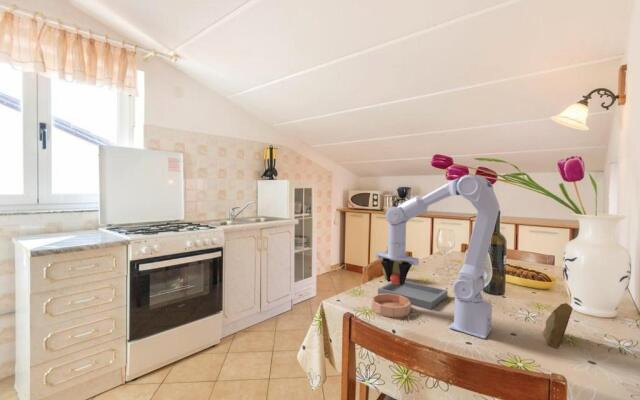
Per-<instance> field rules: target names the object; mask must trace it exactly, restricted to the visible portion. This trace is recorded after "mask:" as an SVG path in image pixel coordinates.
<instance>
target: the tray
mask: <svg viewBox="0 0 640 400" xmlns="http://www.w3.org/2000/svg"><path fill="white" fill-rule="evenodd" d="M387 293H389V294H396V295H401V296H403V297H405V298H408V299H409V301H410V303H411V306H412V305H413V306H415V307H419V308H422V309H427V310H430V311H431V310H433V309H434V308H435V307H437V306H438V305H439V304H440V303H441V302H443V301H444V300H445V299H447V298H448V295H449V294H448V290H447V289H443V288H439V287H435V286H429V285H426V284H422V283H421V284H420V283H416V282H412V281H407V280H405V284H403V285H400V284H398V285H395V284H393V283H392V282H391V281H390V282H389V283H388V284H385V285H383V286H381V287H378V288H377V294H387Z"/></svg>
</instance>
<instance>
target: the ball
mask: <svg viewBox="0 0 640 400" xmlns="http://www.w3.org/2000/svg"><path fill="white" fill-rule="evenodd" d="M391 282H392V283H393V284H395V285H398V284H400V274H399V273H397V272H395V273H392V274H391V276H390V283H391Z"/></svg>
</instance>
